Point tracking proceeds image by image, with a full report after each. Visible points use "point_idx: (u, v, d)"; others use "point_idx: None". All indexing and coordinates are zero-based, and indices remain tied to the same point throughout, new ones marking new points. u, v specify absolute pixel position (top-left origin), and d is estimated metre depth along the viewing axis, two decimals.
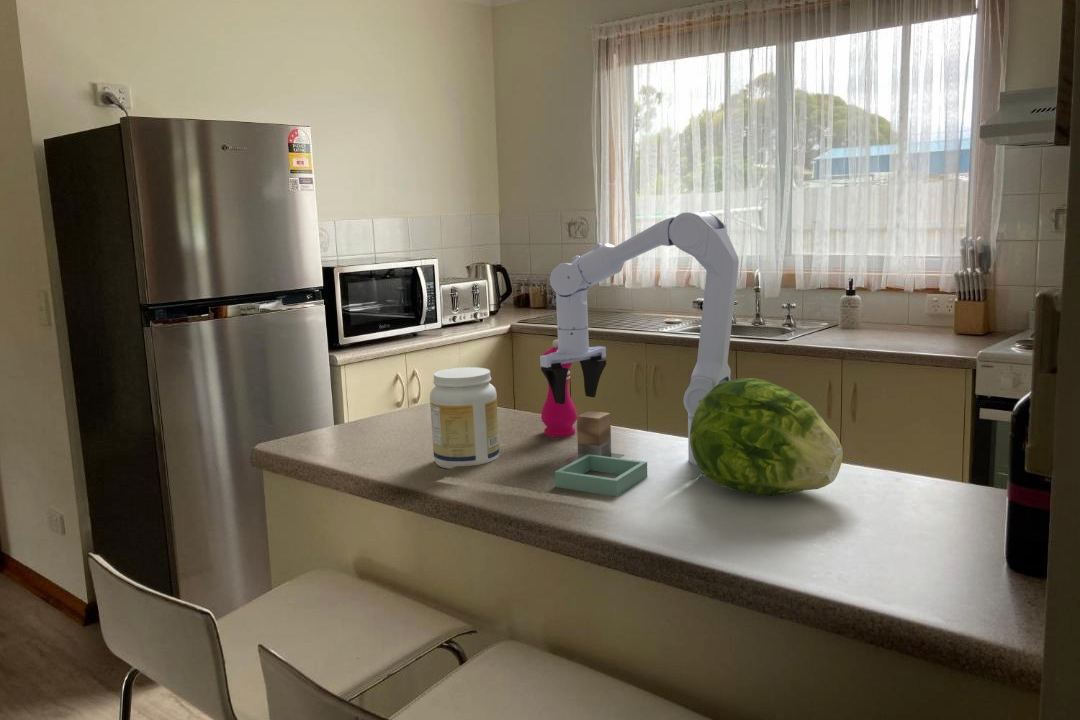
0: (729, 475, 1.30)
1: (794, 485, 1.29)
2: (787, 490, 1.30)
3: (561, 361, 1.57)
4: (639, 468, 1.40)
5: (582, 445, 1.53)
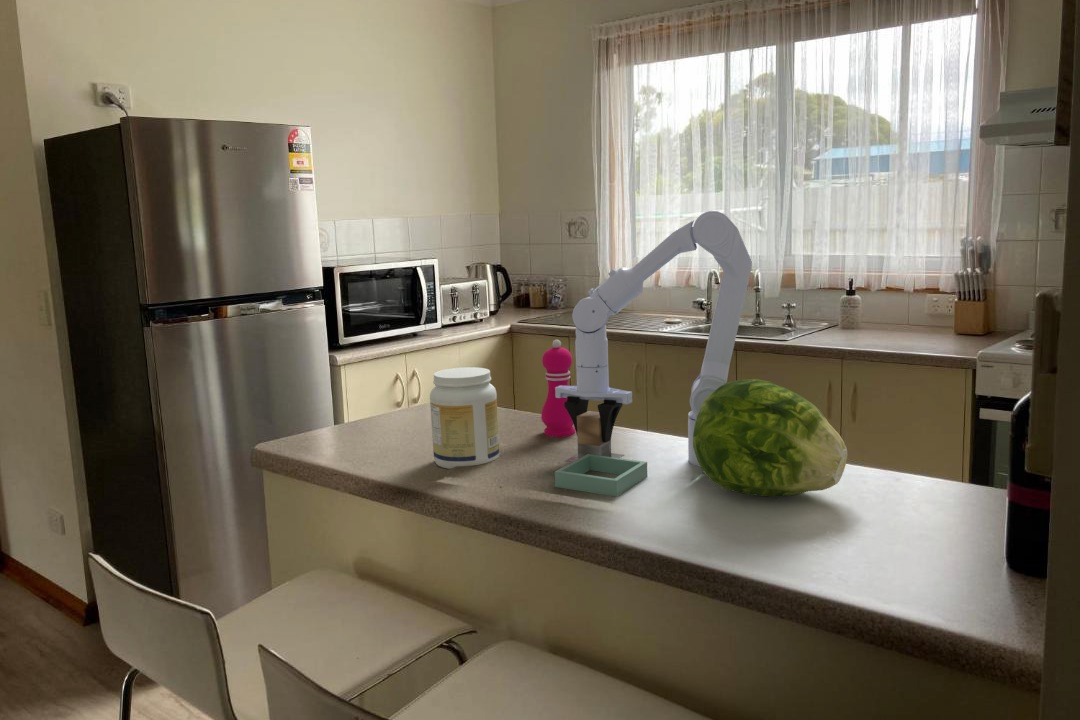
0: (734, 479, 1.29)
1: (799, 487, 1.28)
2: (792, 492, 1.29)
3: (576, 396, 1.54)
4: (639, 468, 1.40)
5: (582, 445, 1.53)
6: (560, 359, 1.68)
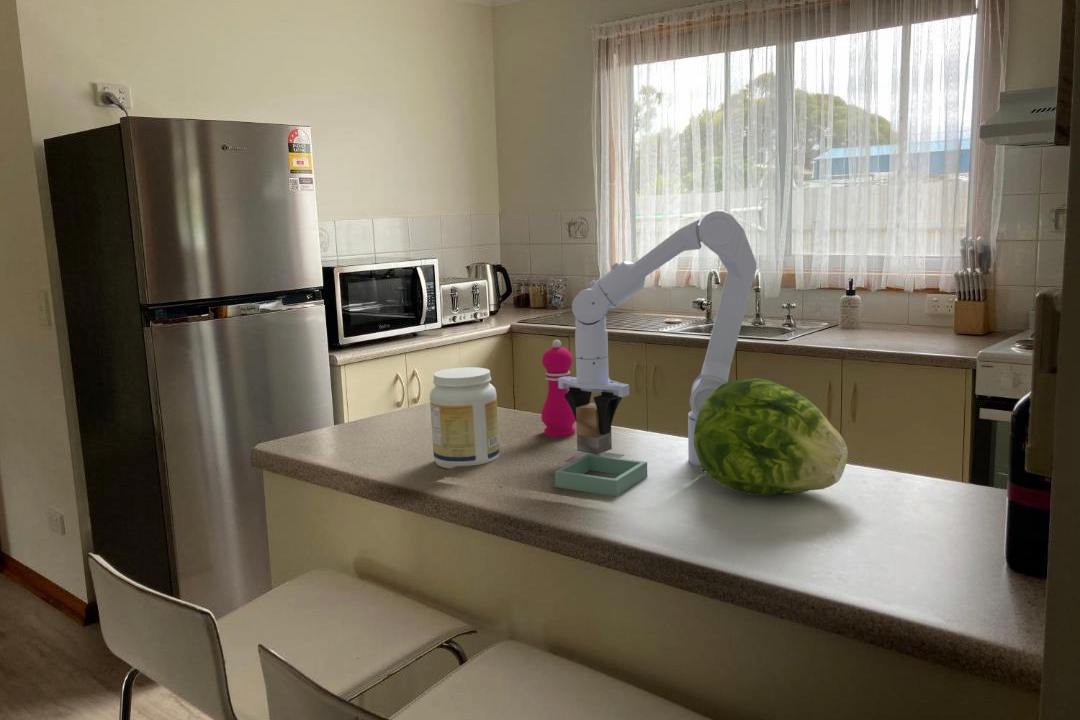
0: (735, 475, 1.29)
1: (799, 485, 1.28)
2: (793, 490, 1.29)
3: (577, 387, 1.54)
4: (639, 468, 1.40)
5: (581, 436, 1.53)
6: (560, 359, 1.68)
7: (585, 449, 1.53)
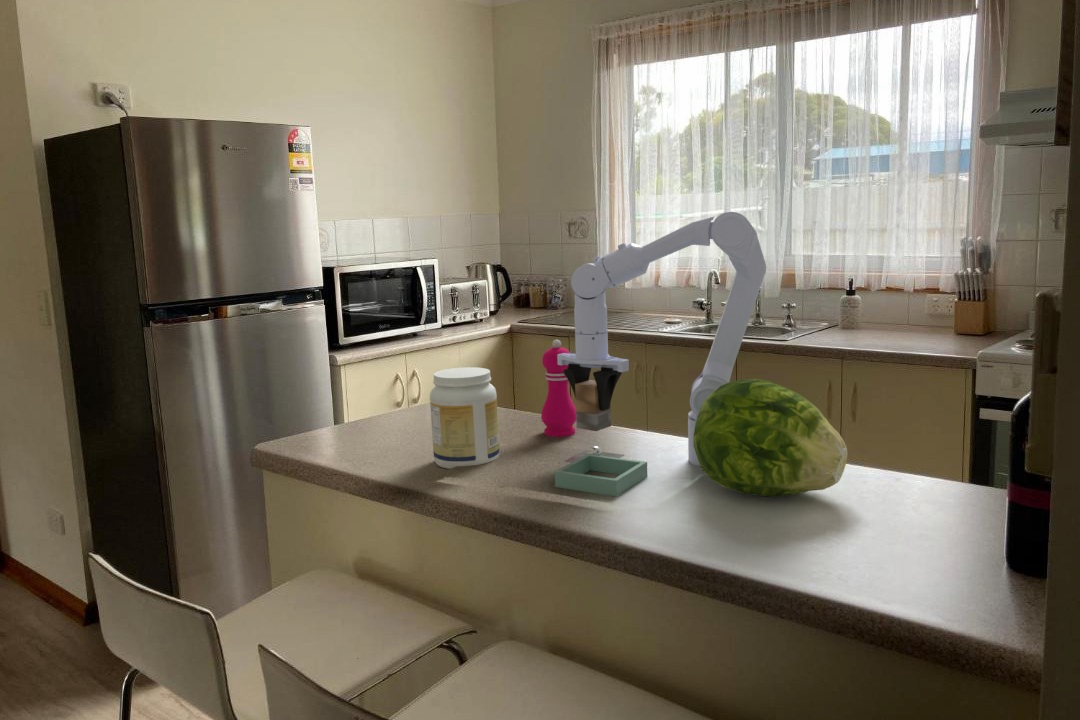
0: (734, 476, 1.29)
1: (799, 486, 1.28)
2: (792, 491, 1.29)
3: (576, 363, 1.53)
4: (639, 468, 1.40)
5: (580, 413, 1.52)
6: None
7: (584, 426, 1.52)
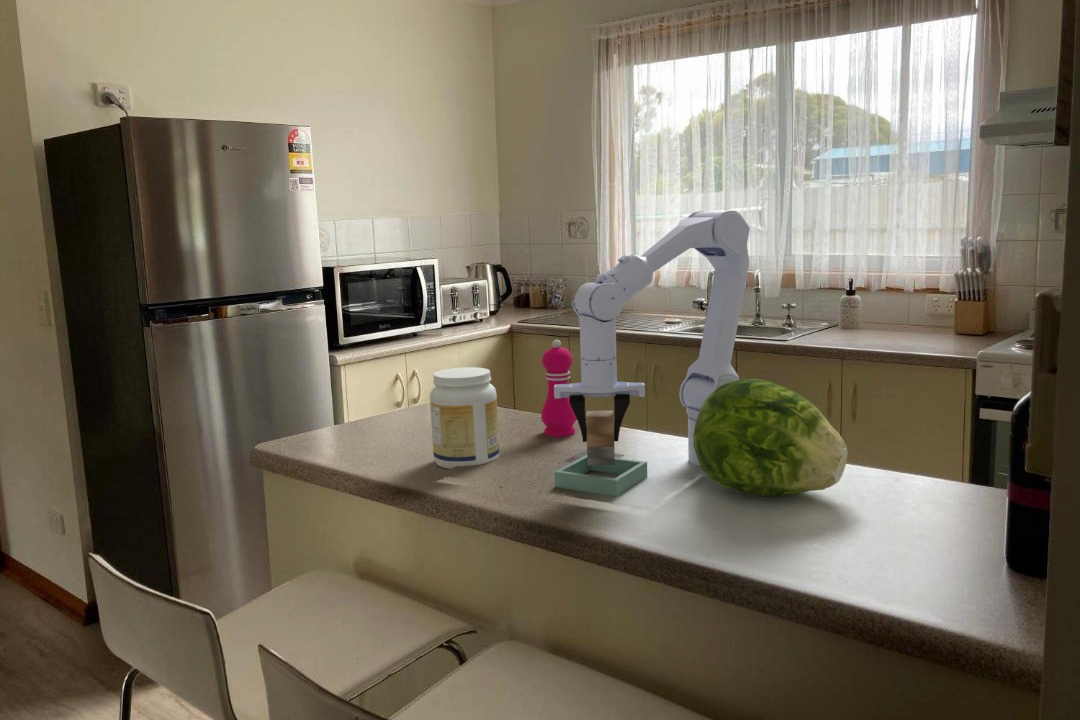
0: (735, 476, 1.29)
1: (799, 486, 1.28)
2: (792, 491, 1.29)
3: (579, 394, 1.38)
4: (639, 468, 1.40)
5: (593, 448, 1.38)
6: (560, 359, 1.68)
7: (599, 461, 1.38)
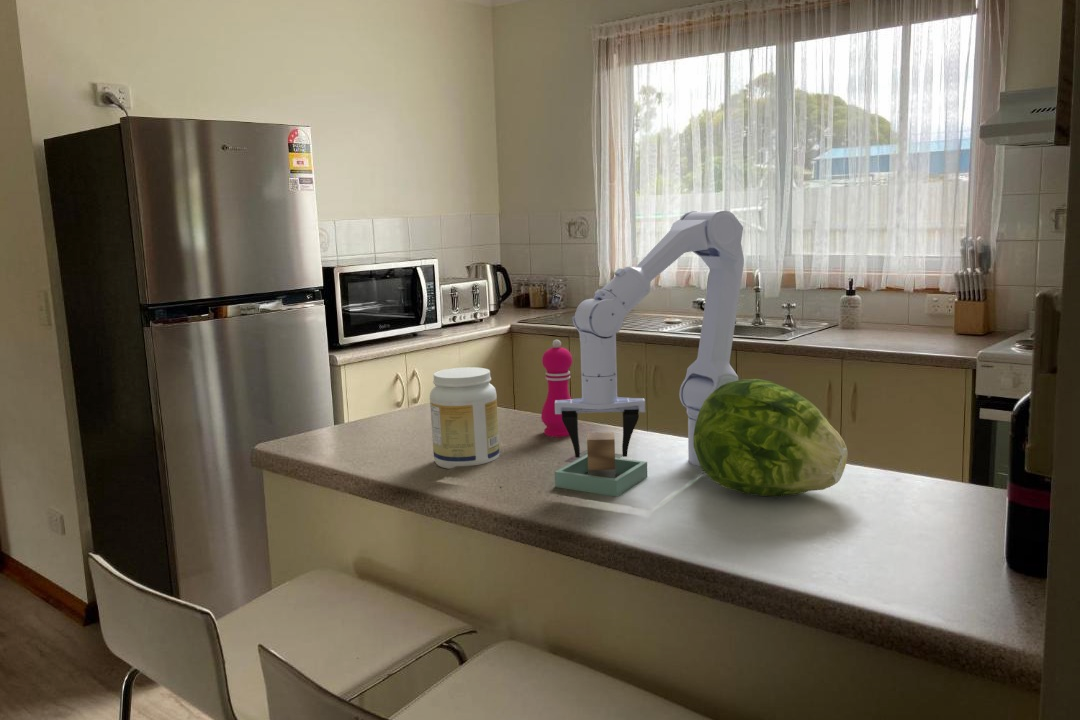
0: (735, 476, 1.29)
1: (799, 486, 1.28)
2: (792, 491, 1.29)
3: (579, 409, 1.39)
4: (639, 468, 1.40)
5: (594, 471, 1.39)
6: (560, 359, 1.68)
7: None
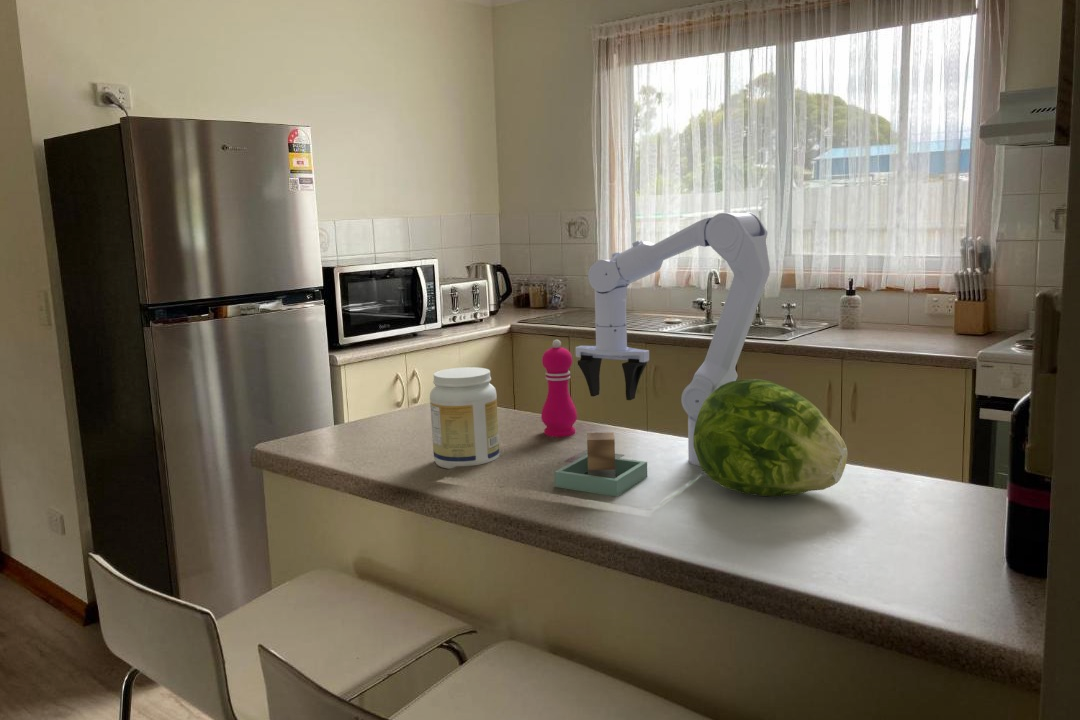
0: (734, 476, 1.29)
1: (799, 486, 1.28)
2: (792, 491, 1.29)
3: (595, 355, 1.60)
4: (639, 468, 1.40)
5: (594, 471, 1.39)
6: (560, 359, 1.68)
7: None
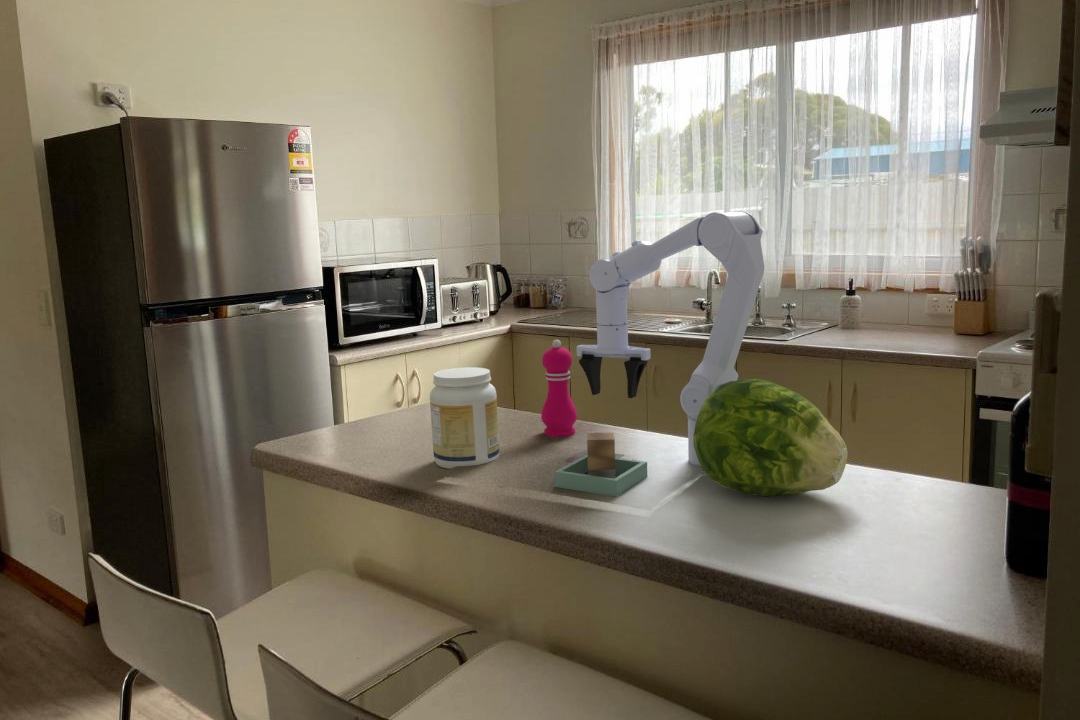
0: (735, 476, 1.29)
1: (799, 486, 1.28)
2: (792, 491, 1.29)
3: (596, 354, 1.62)
4: (639, 468, 1.40)
5: (594, 471, 1.39)
6: (560, 359, 1.68)
7: None
